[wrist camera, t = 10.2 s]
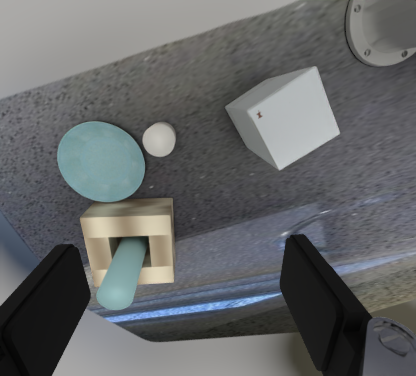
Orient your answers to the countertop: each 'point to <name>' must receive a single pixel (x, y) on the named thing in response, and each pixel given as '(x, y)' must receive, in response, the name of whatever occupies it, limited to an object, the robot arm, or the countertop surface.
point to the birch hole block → (131, 226)
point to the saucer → (101, 161)
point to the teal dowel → (123, 273)
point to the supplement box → (284, 117)
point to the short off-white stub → (159, 139)
